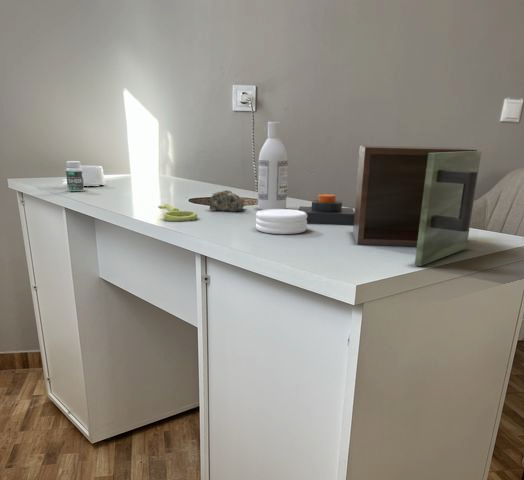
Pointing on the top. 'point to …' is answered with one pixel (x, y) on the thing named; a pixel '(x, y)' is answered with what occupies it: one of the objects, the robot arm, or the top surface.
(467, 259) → the top surface
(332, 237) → the top surface
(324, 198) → the button
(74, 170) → the pill bottle
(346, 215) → the switch block
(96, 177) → the white rounded block
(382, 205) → the cupboard
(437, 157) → the door
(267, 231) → the white flat cylinder
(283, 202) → the bath foam
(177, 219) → the key
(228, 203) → the rock
